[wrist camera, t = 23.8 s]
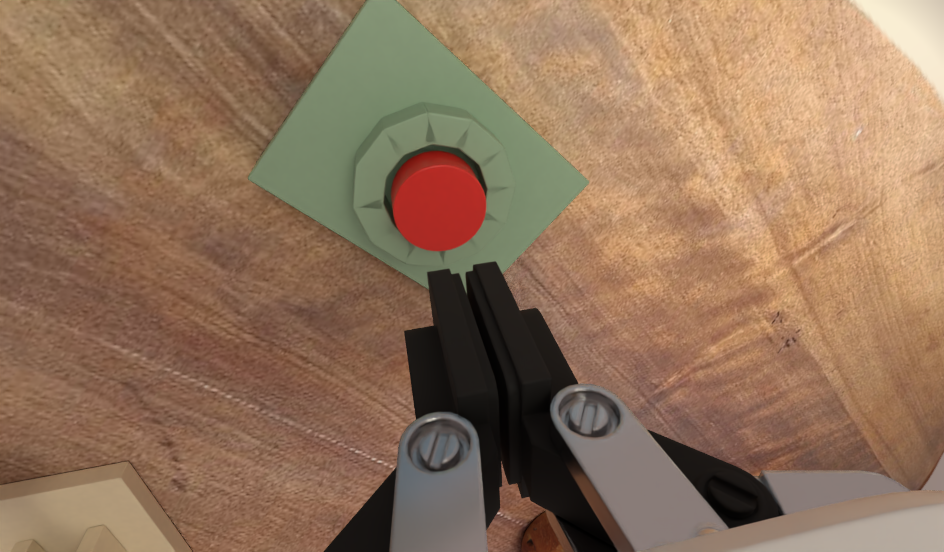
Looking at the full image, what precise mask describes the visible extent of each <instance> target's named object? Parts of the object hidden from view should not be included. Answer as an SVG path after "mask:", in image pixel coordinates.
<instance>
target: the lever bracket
mask: <svg viewBox="0 0 944 552" xmlns="http://www.w3.org/2000/svg"><path fill="white" fill-rule="evenodd" d="M0 552H192V550H191V549H190V547H189V546H188V545H187V543H186V542H185V540H184V539H183V537H182V536H181V535H180V533H179V532H178V530H177V529H176V528H175V526H174V525H173V523H172V522H171V520H170V519H169V518H168V516H167V515H166V513H165V512H164V511H163V509H162V508H161V506H160V505H159V503H158V502H157V501H156V499H155V498H154V496H153V495H152V494H151V492H150V491H149V489H148V488H147V486H146V485H145V484H144V482H143V481H142V479H141V478H140V477H139V475H138V474H137V472H136V471H135V469H134V468H133V467H132V465H131V464H130V462H129V461H127V462H121V463H116V464H111V465H105V466H100V467H95V468H89V469H84V470H79V471H73V472H68V473H63V474H57V475H52V476H47V477H41V478H36V479H31V480H25V481H20V482H15V483H9V484H4V485H0Z"/></svg>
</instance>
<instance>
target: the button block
mask: <svg viewBox="0 0 944 552" xmlns="http://www.w3.org/2000/svg"><path fill="white" fill-rule="evenodd" d="M428 151H444V152H449V153H452V154H454V155H456V156H458V157H460V158H461V159H463V160H464V161H465V162H466V163H467V164H468V165H469V166H470V167H471V169H472V170H473V172H474V174H475V176H476V177H477V179H478V181H479V183H480V184H481V186H482V188H483V190H484V193H485V197H486V214H485V218H484V221H483V223H482V225H481V227H480V229H479V230H478V232H477V233H476V234H475V235H474V236H473V237H472V238H471V239H470V240H469V241H467V242H466V243H465V244H463V245H461V246H459V247H457V248H454V249H451V250H446V251H429V250H425V249H422V248H419V247H417V246H415V245H413V244H411V243H410V242H409V241H407V240H406V239H405V238H404V237H403V236H402V234H401V233H400V232H399V230H398V228H397V226H396V223H395V220H394V216H393V208H392V201H391V187H392V183H393V180H394V177H395V175H396V173H397V172H398V170H399V169H400V167H401V166H402V165H403V164H404V163H405V162H406V161H408V160H409V159H410V158H412V157H414V156H416V155H418V154H420V153H423V152H428ZM248 180H250V181H251V182H253V183H255V184H256V185H258V186H260V187H261V188H263V189H265V190H266V191H268V192H269V193H271V194H273V195H274V196H276V197H278V198H279V199H281V200H283V201H284V202H286V203H287V204H289V205H291V206H292V207H294V208H296V209H297V210H299V211H301V212H302V213H304V214H306V215H307V216H309V217H310V218H312V219H314V220H315V221H317V222H319V223H320V224H322V225H324V226H325V227H327V228H329V229H330V230H332V231H333V232H335V233H337V234H338V235H340V236H342V237H343V238H345V239H347V240H348V241H350V242H351V243H353V244H355V245H356V246H358V247H360V248H361V249H363V250H365V251H366V252H368V253H370V254H371V255H373V256H374V257H376V258H378V259H379V260H381V261H383V262H384V263H386V264H388V265H389V266H391V267H393V268H394V269H396V270H397V271H399V272H401V273H402V274H404V275H406V276H407V277H409V278H411V279H412V280H414V281H415V282H417V283H419V284H420V285H422V286H424V287H425V288H427V289H429V286H428V278H427V272H430V271H436V270H442V269H450V271H451V274H455V273H459V274H460V276H461V279H462V282H463V285H464V288H465V291H466V294H467V290H466V276H465V273H466V272H468V271H473V265H474V264H480V263H487V262H493V261H496V262H497V264H498V266H499V268H500V270H501V272H502V274H503V273H504V272H505V271H506V270H507V269H508V268H509V267H510V266H511V265H512V264H513V262H514V261H515V260H516V259H517V258H518V257H519V256H520V255H521V254H522V253H523V252H524V251H525V250H526V249H527V248H528V247H529V246H530V245H531V244H532V243H533V241H534V240H535V239H536V238H537V237H538V236H539V235H540V234H541V233H542V232H543V231H544V230H545V229H546V228H547V227H548V226H549V225H550V224H551V223H552V222H553V220H554V219H555V218H556V217H557V216H558V215H559V214H560V213H561V212H562V211H563V210H564V209H565V208H566V207H567V206H568V205H569V204H570V203H571V202H572V201H573V199H574V198H575V197H576V196H577V195H578V194H579V193H580V192H581V191H582V190H583V189H584V188H585V187H586V186H587V185H588V184H589V181H588V180H587V179H586V178H585V177H584V176H583V175H582V174H581V173H580V172H579V171H578V170H577V169H575V168H574V167H573V166H572V165H571V164H570V163H569V162H568V161H567V160H566V159H565V158H564V157H563V156H562V155H561V154H559V153H558V152H557V151H556V150H555V149H554V148H553V147H552V146H551V145H550V144H549V143H548V142H547V141H546V140H545V139H543V138H542V137H541V136H540V135H539V134H538V133H537V132H536V131H535V130H534V129H533V128H532V127H531V126H530V125H529V124H527V123H526V122H525V121H524V120H523V119H522V118H521V117H520V116H519V115H518V114H517V113H516V112H515V111H514V110H513V109H511V108H510V107H509V106H508V105H507V104H506V103H505V102H504V101H503V100H502V99H501V98H500V97H499V96H498V95H497V94H495V93H494V92H493V91H492V90H491V89H490V88H489V87H488V86H487V85H486V84H485V83H484V82H483V81H482V80H481V79H479V78H478V77H477V76H476V75H475V74H474V73H473V72H472V71H471V70H470V69H469V68H468V67H467V66H466V65H465V64H463V63H462V62H461V61H460V60H459V59H458V58H457V57H456V56H455V55H454V54H453V53H452V52H451V51H450V50H449V49H447V48H446V47H445V46H444V45H443V44H442V43H441V42H440V41H439V40H438V39H437V38H436V37H435V36H434V35H432V34H431V33H430V32H429V31H428V30H427V29H426V28H425V27H424V26H423V25H422V24H421V23H420V22H419V21H418V20H416V19H415V18H414V17H413V16H412V15H411V14H410V13H409V12H408V11H407V10H406V9H405V8H404V7H403V6H402V5H400V4H399V3H398V2H397V1H396V0H366V1H365V2H364V4H363V5H362V7H361V8H360V10H359V11H358V12H357V14H356V15H355V17H354V18H353V20H352V21H351V23H350V24H349V26H348V27H347V29H346V30H345V32H344V33H343V35H342V36H341V38H340V39H339V41H338V42H337V44H336V45H335V47H334V48H333V50H332V51H331V52H330V54H329V55H328V57H327V58H326V60H325V61H324V63H323V64H322V66H321V67H320V69H319V70H318V72H317V73H316V75H315V76H314V78H313V79H312V81H311V82H310V84H309V85H308V87H307V88H306V89H305V91H304V92H303V94H302V95H301V97H300V98H299V100H298V101H297V103H296V104H295V106H294V107H293V109H292V110H291V112H290V113H289V115H288V116H287V118H286V119H285V121H284V122H283V124H282V125H281V127H280V128H279V129H278V131H277V132H276V134H275V135H274V137H273V138H272V140H271V141H270V143H269V144H268V146H267V147H266V149H265V150H264V152H263V153H262V155H261V156H260V158H259V159H258V161H257V162H256V164H255V166H254V167H253V169H252V171H251V173H250V174H249V176H248Z"/></svg>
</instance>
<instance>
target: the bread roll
mask: <svg viewBox="0 0 944 552" xmlns="http://www.w3.org/2000/svg"><path fill="white" fill-rule="evenodd" d="M521 547H522V552H565V551H564V550H563V548H562V546H561V544H560V542H559V540H558V538H557V536H556V534H555V532H554V530H553V528H552V526H551V524H550V522H549V520H548V517H547V514H546V511H545V512H544V513H542V514H541V515H539V516H538V517H537V518H536V519H535V520H534V521H533V522H532V523H531V524H530V526H529V527H528V529H527V530H526V532H525V534H524V537H523V540H522V545H521Z"/></svg>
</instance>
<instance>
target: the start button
mask: <svg viewBox="0 0 944 552" xmlns="http://www.w3.org/2000/svg"><path fill="white" fill-rule="evenodd" d="M391 201H392V208H393V216H394V220H395V223H396V226H397V228H398V230H399V232H400V233H401V234H402V236H403V237H404V238H405V239H406V240H407V241H409V242H410V243H411V244H413V245H415V246H417V247H419V248H422V249H425V250H429V251H446V250H451V249H454V248H457V247H459V246H461V245H463V244H465V243H466V242H467V241H469V240H470V239H471V238H472V237H473V236H474V235H475V234H476V233H477V232H478V230H479V229H480V227H481V225H482V223H483V221H484V218H485V214H486V197H485V193H484V190H483V188H482V186H481V184H480V183H479V181H478V179H477V177H476V176H475V174H474V172H473V170H472V169H471V167H470V166H469V165H468V164H467V163H466V162H465V161H464V160H463V159H461V158H460V157H458V156H456V155H454V154H452V153H449V152H444V151H428V152H423V153H420V154H418V155H416V156H414V157H412V158H410V159H409V160H408V161H406V162H405V163H404V164H403V165H402V166H401V167H400V169H399V170H398V172H397V173H396V175H395V177H394V180H393V183H392V187H391Z"/></svg>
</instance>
